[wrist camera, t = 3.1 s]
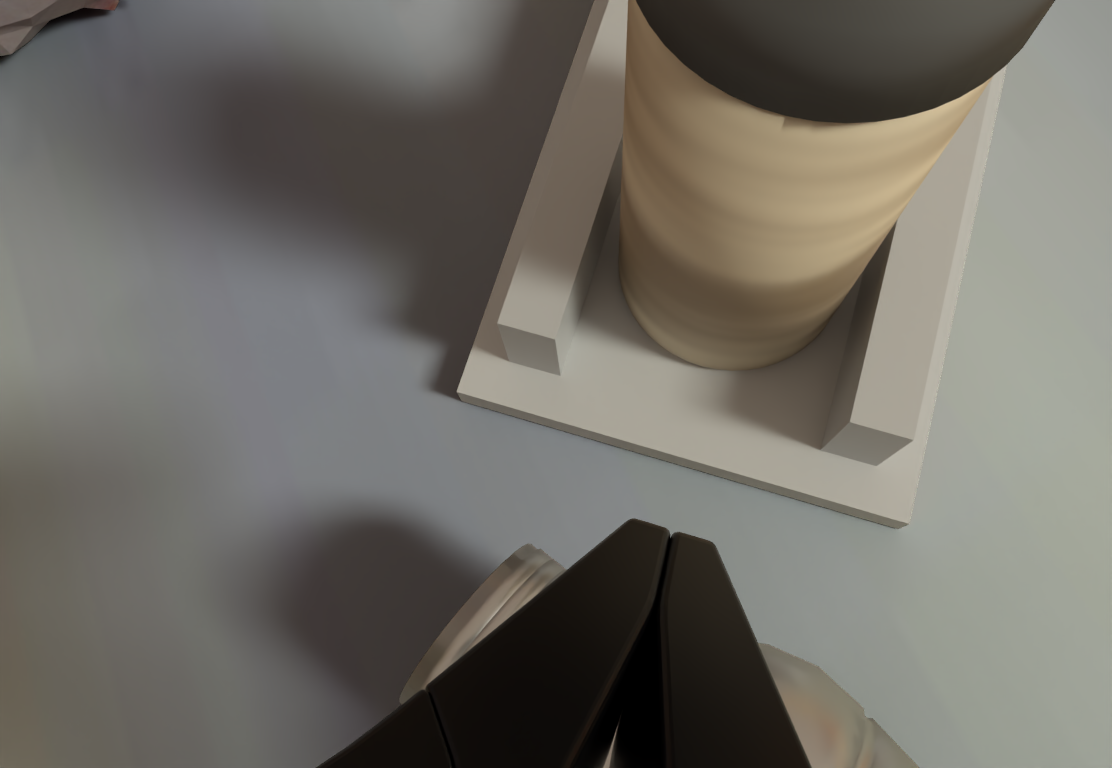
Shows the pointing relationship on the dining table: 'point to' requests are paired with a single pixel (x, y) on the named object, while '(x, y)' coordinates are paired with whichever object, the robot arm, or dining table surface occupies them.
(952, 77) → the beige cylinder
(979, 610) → the dining table surface
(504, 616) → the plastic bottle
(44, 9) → the food item
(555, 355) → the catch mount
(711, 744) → the robot arm
